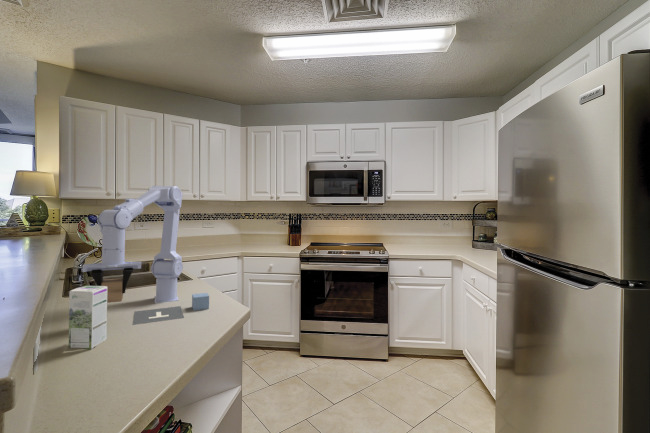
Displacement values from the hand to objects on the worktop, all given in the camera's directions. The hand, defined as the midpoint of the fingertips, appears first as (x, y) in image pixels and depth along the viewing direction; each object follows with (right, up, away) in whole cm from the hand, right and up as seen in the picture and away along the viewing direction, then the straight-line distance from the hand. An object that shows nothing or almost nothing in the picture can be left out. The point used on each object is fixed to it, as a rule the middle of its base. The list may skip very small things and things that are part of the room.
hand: (112, 293), depth 92 cm
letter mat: (+10, -9, +7) cm, 15 cm away
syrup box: (+5, -9, -16) cm, 19 cm away
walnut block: (0, -2, 0) cm, 2 cm away
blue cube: (+20, -9, +15) cm, 27 cm away
